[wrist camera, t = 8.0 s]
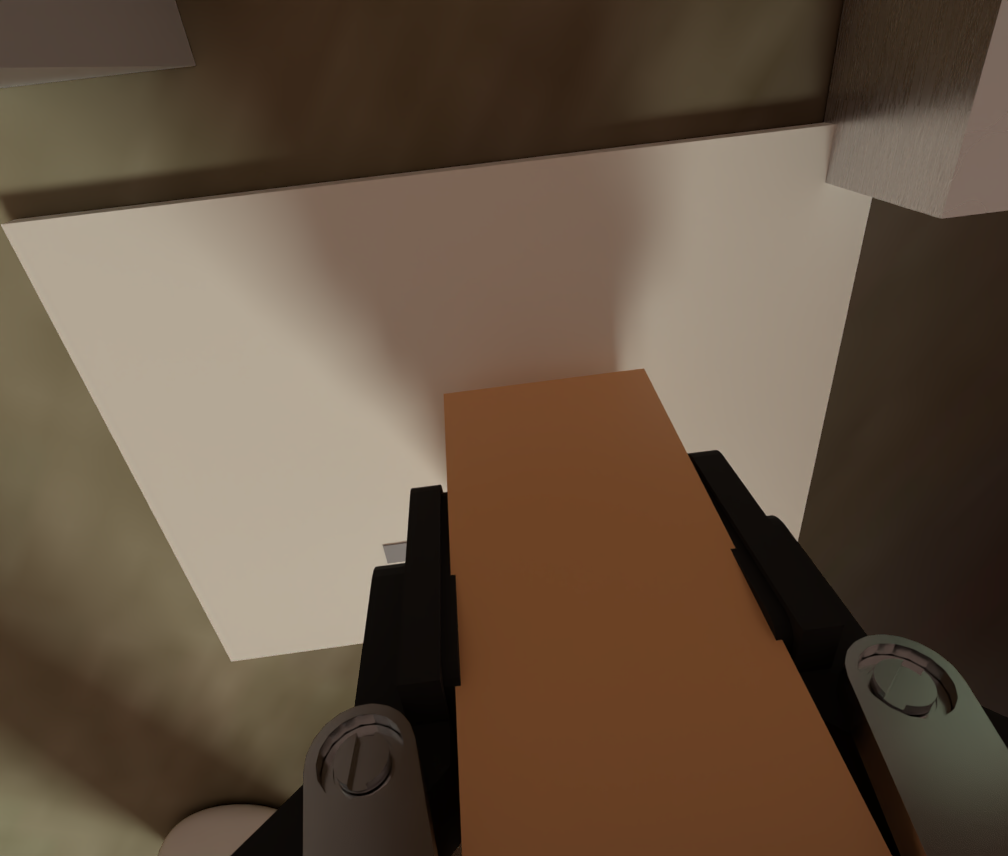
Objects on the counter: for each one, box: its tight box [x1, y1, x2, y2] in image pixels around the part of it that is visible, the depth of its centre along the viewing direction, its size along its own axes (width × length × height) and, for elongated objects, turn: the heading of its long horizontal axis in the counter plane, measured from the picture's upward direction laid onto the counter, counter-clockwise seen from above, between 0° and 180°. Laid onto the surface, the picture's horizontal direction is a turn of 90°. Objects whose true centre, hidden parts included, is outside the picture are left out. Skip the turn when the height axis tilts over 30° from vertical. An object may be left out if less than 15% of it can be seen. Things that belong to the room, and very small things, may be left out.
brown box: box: [444, 368, 892, 856], centre depth 9 cm, size 4×4×11 cm
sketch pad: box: [1, 123, 872, 661], centre depth 14 cm, size 16×12×1 cm
